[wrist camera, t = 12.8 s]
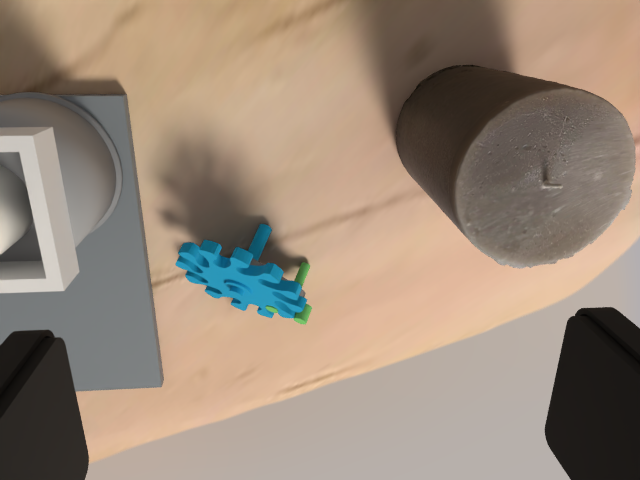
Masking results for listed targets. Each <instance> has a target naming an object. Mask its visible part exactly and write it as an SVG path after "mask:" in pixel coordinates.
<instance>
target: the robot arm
mask: <svg viewBox="0 0 640 480" xmlns="http://www.w3.org/2000/svg"><path fill="white" fill-rule="evenodd" d="M545 436H546V440H547V443H548V445H549V447H550V449H551V451H552V452H553V454H554V455H555V457H556V458H557V460H558V461H559V463H560V464H561V465H562V467H563V469H564V470H565V471H566V473H567V474H568V476H569V477H570V479H571V480H640V328H638V327H637V326H636V325H635V324H634V323H632V322H631V321H630V320H629V319H627V318H626V317H625V316H624V315H623V314H621V313H620V312H619V311H617V310H616V309H614V308H612V307H603V308H581V309H580V310H578V311H577V313H576V314H575V316H572V317H570V318H569V320H568V322H567V325H566V330H565V335H564V339H563V344H562V349H561V354H560V358H559V363H558V368H557V373H556V377H555V382H554V387H553V392H552V396H551V401H550V406H549V411H548V416H547V420H546V425H545ZM88 463H89V456H88V450H87V445H86V440H85V435H84V431H83V426H82V421H81V416H80V411H79V407H78V402H77V397H76V392H75V388H74V383H73V378H72V373H71V369H70V364H69V359H68V354H67V349H66V345H65V342H64V340H63V338H61V337H55V336H54V334H53V332H52V331H50V330H25V331H13V332H12V333H11V334H10V335H9V336H8V337H7V338H6V339H5V340H4V342H3V343H2V344H1V345H0V480H85V477H86V474H87V470H88Z"/></svg>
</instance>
